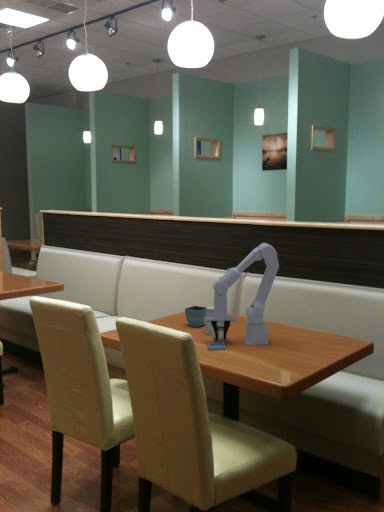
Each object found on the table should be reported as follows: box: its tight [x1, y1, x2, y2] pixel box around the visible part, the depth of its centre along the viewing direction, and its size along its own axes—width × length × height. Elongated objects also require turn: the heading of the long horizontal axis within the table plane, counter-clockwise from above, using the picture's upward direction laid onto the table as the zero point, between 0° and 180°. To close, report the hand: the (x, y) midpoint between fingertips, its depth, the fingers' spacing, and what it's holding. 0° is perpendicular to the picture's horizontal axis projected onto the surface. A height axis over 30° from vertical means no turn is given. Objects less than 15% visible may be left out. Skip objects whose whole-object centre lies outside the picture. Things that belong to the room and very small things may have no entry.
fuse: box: [217, 326, 224, 340], centre depth 234 cm, size 3×3×7 cm
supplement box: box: [205, 305, 224, 336], centre depth 250 cm, size 7×7×13 cm
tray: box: [206, 342, 227, 351], centre depth 227 cm, size 7×7×2 cm
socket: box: [212, 336, 229, 346], centre depth 234 cm, size 6×6×2 cm
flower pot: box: [184, 305, 208, 328], centre depth 264 cm, size 9×9×9 cm
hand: (220, 337), depth 234 cm, fingers closed on fuse, 3 cm apart
